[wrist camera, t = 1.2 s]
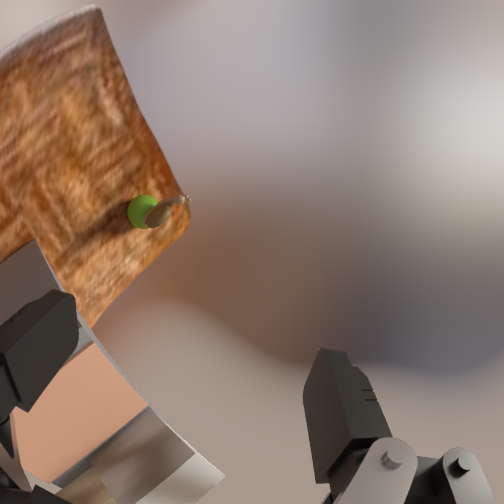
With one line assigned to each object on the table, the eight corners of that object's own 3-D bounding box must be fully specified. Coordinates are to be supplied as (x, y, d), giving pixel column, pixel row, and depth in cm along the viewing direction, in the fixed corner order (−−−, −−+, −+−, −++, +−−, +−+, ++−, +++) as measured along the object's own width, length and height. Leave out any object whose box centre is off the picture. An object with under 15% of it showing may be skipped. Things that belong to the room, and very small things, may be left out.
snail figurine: (160, 205, 49) (200, 210, 41) (137, 233, 47) (173, 245, 39) (141, 183, 46) (179, 182, 38) (116, 211, 44) (147, 217, 35)
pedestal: (32, 341, 35) (103, 509, 13) (-14, 274, 29) (-33, 425, 7) (75, 307, 41) (187, 441, 19) (35, 238, 34) (83, 328, 12)
